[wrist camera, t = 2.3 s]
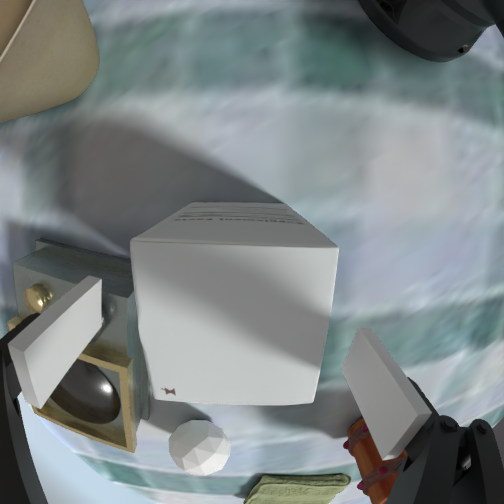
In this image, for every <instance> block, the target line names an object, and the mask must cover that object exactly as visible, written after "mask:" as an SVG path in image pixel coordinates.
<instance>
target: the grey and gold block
mask: <svg viewBox="0 0 504 504" xmlns="http://www.w3.org/2000/svg"><path fill="white" fill-rule="evenodd" d="M13 275H14V285H15V294H16V301H17V308H18V315H19V317H17V316H15V317H13V318H12V319H11V320H10V321H8V327H9V331H11V330H12V329H13V328H15V326H16V325H18V324H19V323H21V321H22V320H23V319H25V318H26V317H27V316H29V315H32V314H34V313H37V312H38V313H40V314H42V313H43V312H44V311H45V310H47V309H48V308H49V307H50V306H51V305H53V304H54V303H55V302H56V301H57V300H59V299H60V298H61V297H62V296H63V295H65V294H66V293H67V292H68V291H70V290H71V289H72V288H73V287H75V286H76V285H77V284H78V283H80V282H81V281H82V280H83V279H85V278H86V277H87V276H93V277H97V278H100V279H102V287H101V317H102V327H101V328H100V329H99V330H98V332H97V333H96V334H95V335H94V337H93V338H92V339H91V341H90V342H89V343H88V345H87V346H86V347H85V348H84V350H83V351H82V352H81V354H80V355H79V356H78V358H77V359H76V360H75V362H74V363H73V364H72V366H71V367H70V368H69V370H68V371H67V373H66V374H65V375H64V377H63V378H62V379H61V381H60V382H59V384H58V385H57V386H56V388H55V389H54V391H53V392H52V394H51V395H50V396H49V398H48V399H47V401H46V402H45V404H44V405H43V407H42V408H41V409H39V408H37V407H35V406H33V405H32V408H33V411H34V413H35V414H37V415H39V416H41V417H43V418H45V419H47V420H49V421H51V422H53V423H55V424H57V425H60V426H62V427H64V428H66V429H69V430H71V431H73V432H76V433H78V434H81V435H83V436H86V437H88V438H91V439H93V440H96V441H99V442H101V443H104V444H107V445H110V446H113V447H116V448H119V449H122V450H125V451H129V452H132V453H134V452H135V449H136V446H137V438H136V431H137V428H138V426H139V423H140V420H141V418H142V419H146V420H148V419H149V416H150V381H149V376H148V371H147V366H146V361H145V356H144V351H143V346H142V343H141V340H140V336H139V330H138V315H137V307H136V300H135V292H134V283H133V274H132V264H131V260H126V259H122V258H118V257H114V256H109V255H105V254H101V253H97V252H93V251H89V250H85V249H81V248H77V247H73V246H69V245H65V244H61V243H57V242H53V241H49V240H46V239H42V238H40V239H38V240H36V251H35V252H33V253H31V254H29V255H27V256H25V257H24V258H22V259H20V260H18V261H16V262H14V263H13Z"/></svg>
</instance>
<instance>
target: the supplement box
mask: <svg viewBox="0 0 504 504" xmlns="http://www.w3.org/2000/svg"><path fill="white" fill-rule="evenodd" d="M338 252H339V247H338V246H337V245H336V244H335V243H333V242H332V241H331V240H330V239H329V238H327V237H326V236H325V235H324V234H323V233H321V232H320V231H319V230H318V229H316V228H315V227H314V226H313V225H312V224H310V223H309V222H308V221H307V220H305V219H304V218H303V217H302V216H301V215H299V214H298V213H297V212H296V211H294V210H293V209H292V208H291V207H289V206H288V205H287V204H280V203H246V202H191V203H190V204H188V205H187V206H185V207H183V208H182V209H180V210H178V211H177V212H175V213H174V214H172V215H170V216H169V217H167V218H166V219H164V220H162V221H161V222H159V223H158V224H156V225H155V226H153V227H151V228H150V229H148V230H147V231H145V232H143V233H142V234H140V235H138V236H136V237H134V238H132V239H131V241H130V253H131V264H132V274H133V283H134V292H135V300H136V307H137V315H138V330H139V336H140V340H141V343H142V346H143V351H144V356H145V361H146V366H147V371H148V376H149V381H150V385H151V390H152V394H153V397H154V398H155V399H158V400H167V401H179V402H192V403H208V404H231V405H295V404H305V403H312V402H313V401H314V397H315V393H316V388H317V384H318V379H319V374H320V369H321V364H322V359H323V353H324V348H325V343H326V337H327V331H328V325H329V320H330V313H331V307H332V300H333V293H334V286H335V278H336V269H337V260H338Z"/></svg>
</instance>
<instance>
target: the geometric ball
mask: <svg viewBox="0 0 504 504" xmlns="http://www.w3.org/2000/svg"><path fill="white" fill-rule="evenodd" d="M230 444H231V442H230V441H229V439H228V438H227V436H226V434H225V433H224V431H223V429H222V428H220V427H218V426H216V425H215V424H213V423H211V422H209V421H207V420H190V421H188V422H186V423H184V424H182V425H179V426H178V427H177V428H176V430H175V431H174V432H173V434H172V435H171V436H170V438H169V452H170V455H171V457H172V458H173V460H174V462H175V463H176V465H177V466H178V467H180V468H181V469H183V470H185V471H186V472H188V473H190V474H192V475H208V474H210V473H213V472H216V471H219V470H221V469H223V467H224V465H225V463H226V461H227V459H228V458H229V456H230Z"/></svg>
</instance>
